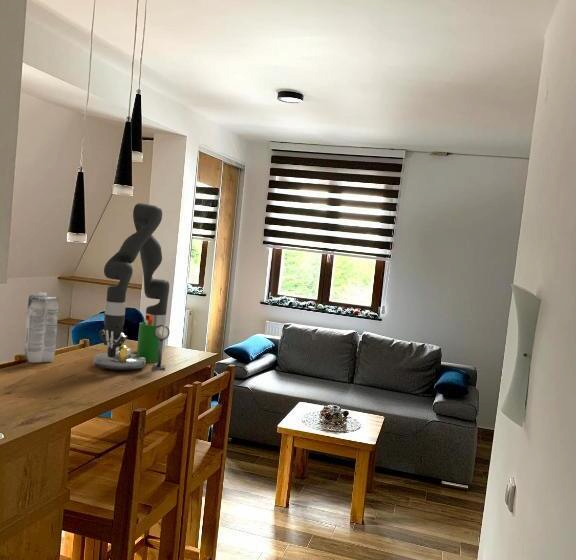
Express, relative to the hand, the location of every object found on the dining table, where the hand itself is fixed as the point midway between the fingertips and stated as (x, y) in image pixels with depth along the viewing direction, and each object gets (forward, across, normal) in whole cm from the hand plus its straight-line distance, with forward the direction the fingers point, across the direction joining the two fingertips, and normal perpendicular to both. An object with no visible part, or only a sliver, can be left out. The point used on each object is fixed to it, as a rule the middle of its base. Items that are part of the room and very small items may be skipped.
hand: (111, 357), depth 242 cm
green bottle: (+6, +4, -27) cm, 28 cm away
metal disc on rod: (+6, -10, -18) cm, 21 cm away
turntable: (+4, +2, -7) cm, 8 cm away
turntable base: (+6, +2, -7) cm, 9 cm away
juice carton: (+6, +28, +9) cm, 30 cm away
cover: (+2, +2, -8) cm, 8 cm away
